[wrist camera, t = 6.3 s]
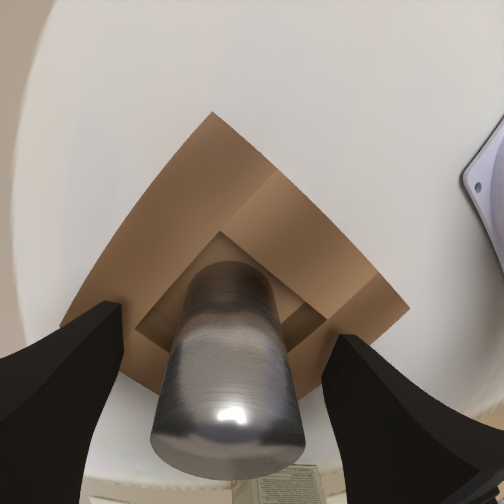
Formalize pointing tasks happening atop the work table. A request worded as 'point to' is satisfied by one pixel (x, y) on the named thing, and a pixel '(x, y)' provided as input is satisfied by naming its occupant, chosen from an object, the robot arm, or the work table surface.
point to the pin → (228, 381)
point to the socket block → (234, 258)
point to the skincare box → (281, 487)
